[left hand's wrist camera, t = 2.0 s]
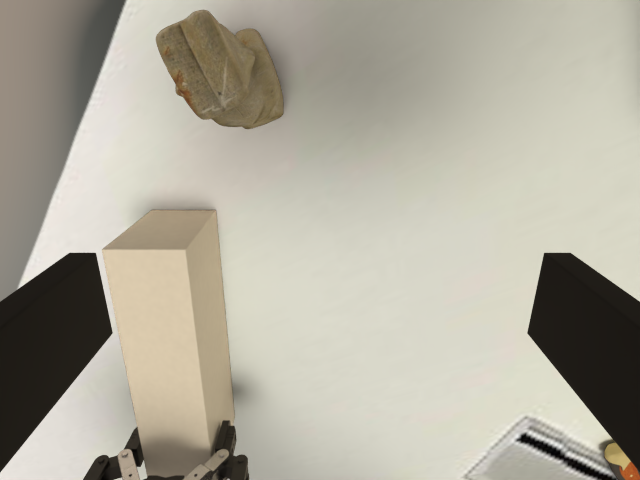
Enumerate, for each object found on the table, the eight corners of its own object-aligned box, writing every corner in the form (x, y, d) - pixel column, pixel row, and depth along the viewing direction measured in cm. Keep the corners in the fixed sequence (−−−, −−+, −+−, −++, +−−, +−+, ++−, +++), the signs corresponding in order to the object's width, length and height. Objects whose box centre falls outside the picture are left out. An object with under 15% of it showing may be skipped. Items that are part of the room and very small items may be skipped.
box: (151, 209, 40) (101, 249, 31) (216, 210, 40) (185, 249, 31) (182, 416, 49) (150, 494, 40) (234, 417, 49) (215, 494, 40)
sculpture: (268, 22, 34) (232, -16, 20) (299, 109, 37) (286, 129, 23) (203, 48, 35) (125, 29, 21) (237, 132, 37) (189, 165, 23)
